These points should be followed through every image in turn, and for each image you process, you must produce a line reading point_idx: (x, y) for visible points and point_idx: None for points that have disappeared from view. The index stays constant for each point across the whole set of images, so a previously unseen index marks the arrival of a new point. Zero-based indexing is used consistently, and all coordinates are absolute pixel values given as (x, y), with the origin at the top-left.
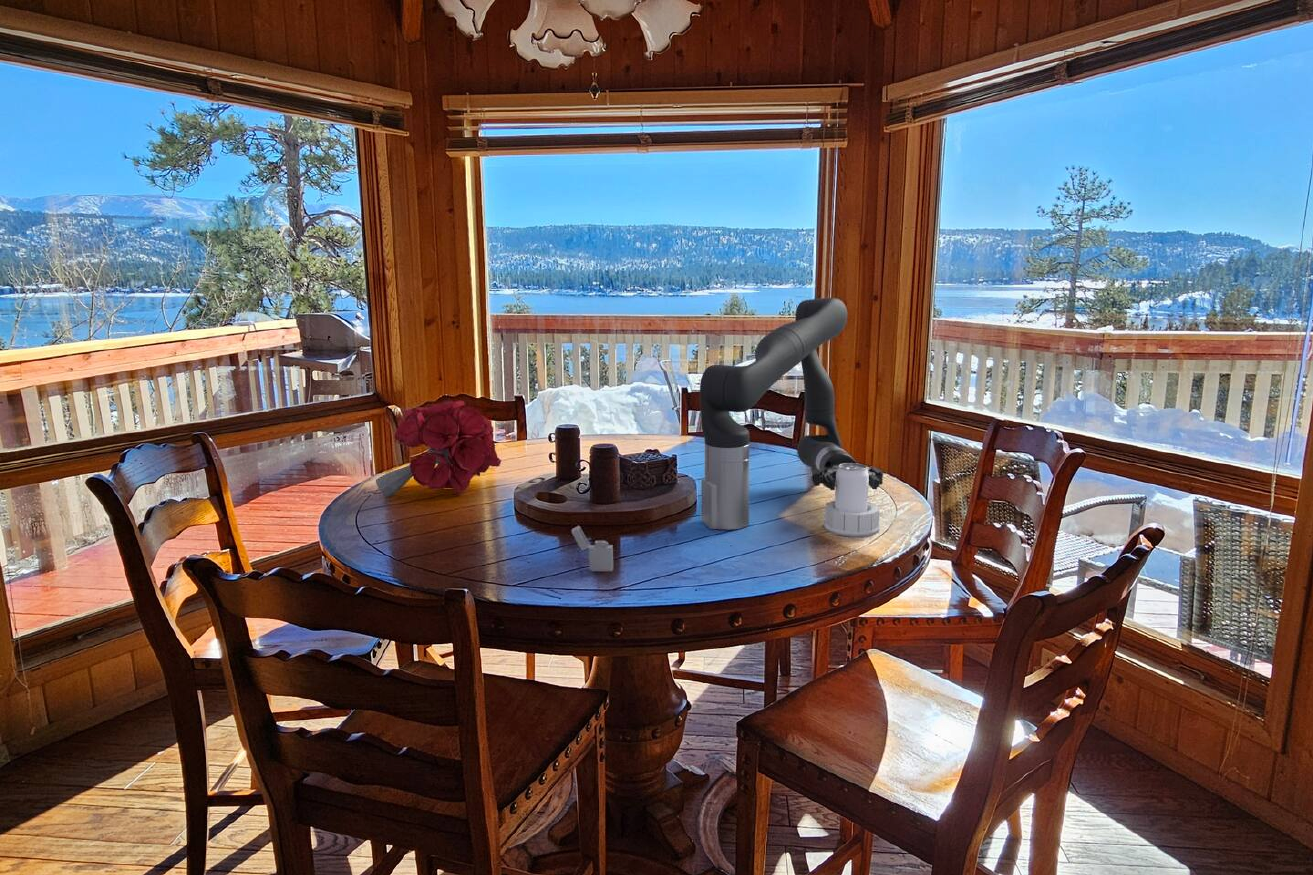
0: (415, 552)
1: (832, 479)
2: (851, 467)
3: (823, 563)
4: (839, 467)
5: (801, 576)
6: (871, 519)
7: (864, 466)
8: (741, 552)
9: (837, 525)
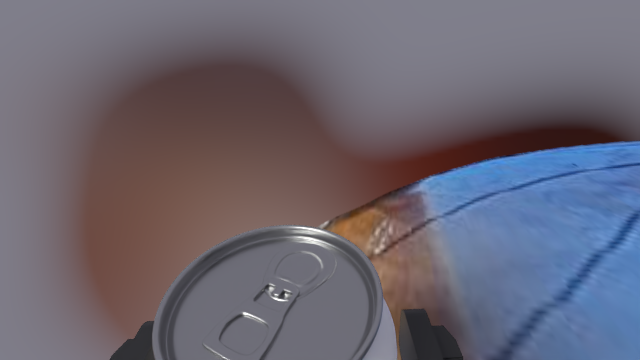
0: None
1: (418, 314)
2: (275, 311)
3: (413, 225)
4: (376, 273)
5: (443, 192)
6: None
7: (164, 320)
8: (611, 264)
9: None
